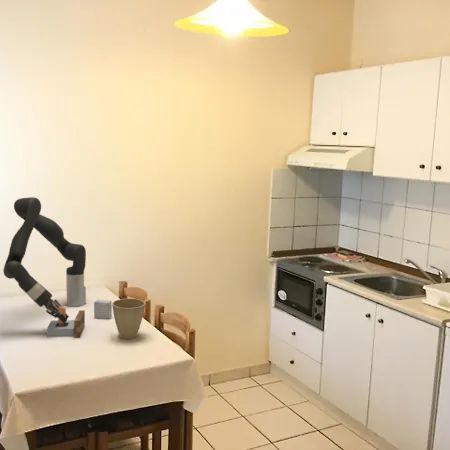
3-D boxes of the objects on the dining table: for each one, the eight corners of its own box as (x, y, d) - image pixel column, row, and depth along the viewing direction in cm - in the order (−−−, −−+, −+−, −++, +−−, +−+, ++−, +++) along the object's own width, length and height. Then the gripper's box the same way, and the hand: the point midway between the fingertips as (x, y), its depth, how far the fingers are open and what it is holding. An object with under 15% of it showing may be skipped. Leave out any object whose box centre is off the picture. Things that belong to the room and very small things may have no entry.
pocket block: (46, 337, 258) (46, 329, 257) (51, 328, 270) (51, 320, 269) (73, 337, 259) (73, 328, 259) (77, 328, 271) (77, 320, 271)
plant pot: (113, 343, 253) (113, 308, 250) (111, 331, 267) (111, 299, 264) (146, 340, 257) (147, 307, 254) (142, 329, 271) (143, 297, 268)
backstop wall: (74, 337, 258) (74, 320, 256) (79, 326, 272) (79, 310, 271) (79, 337, 258) (79, 320, 257) (84, 326, 273) (84, 310, 271)
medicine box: (111, 316, 288) (111, 300, 287) (109, 319, 284) (109, 302, 283) (96, 315, 289) (96, 299, 288) (94, 318, 285) (93, 301, 283)
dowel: (63, 326, 266) (63, 305, 265) (67, 328, 264) (67, 307, 263) (57, 327, 264) (56, 307, 262) (60, 329, 262) (60, 308, 260)
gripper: (41, 293, 253) (69, 319, 257) (48, 284, 267) (74, 309, 270) (29, 304, 254) (57, 330, 257) (37, 295, 268) (63, 320, 271)
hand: (66, 319), depth 264 cm, fingers closed on dowel, 3 cm apart
